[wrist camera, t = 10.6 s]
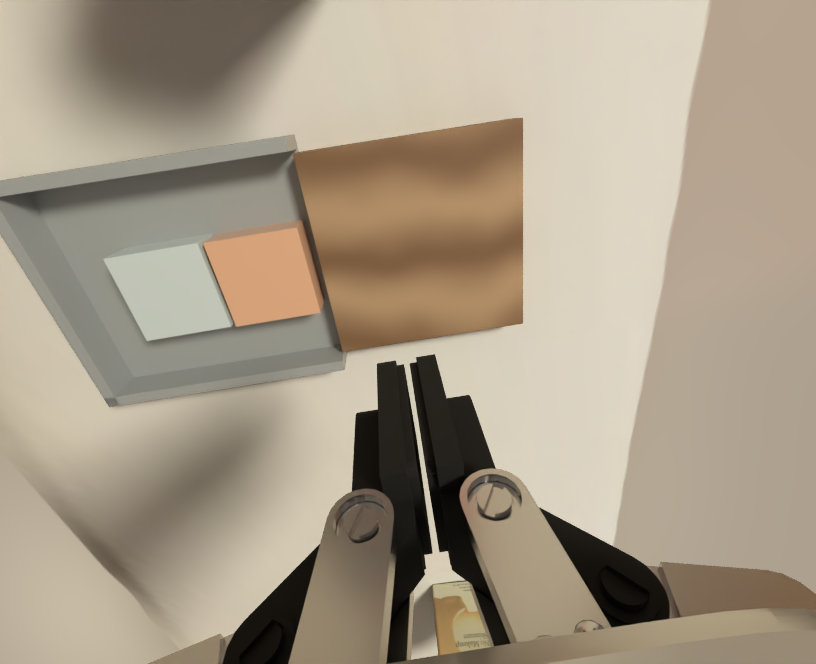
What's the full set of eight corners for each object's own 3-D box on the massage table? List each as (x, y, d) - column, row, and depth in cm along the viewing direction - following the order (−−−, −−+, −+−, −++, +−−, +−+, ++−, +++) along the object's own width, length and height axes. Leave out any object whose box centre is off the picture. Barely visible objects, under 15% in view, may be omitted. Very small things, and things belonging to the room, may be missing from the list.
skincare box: (480, 577, 49) (510, 705, 38) (480, 597, 51) (508, 724, 40) (429, 583, 49) (444, 714, 38) (430, 603, 51) (445, 732, 40)
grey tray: (12, 179, 25) (-31, 185, 22) (294, 134, 25) (284, 136, 22) (131, 384, 32) (109, 407, 30) (347, 349, 32) (344, 369, 30)
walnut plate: (298, 152, 25) (292, 154, 24) (512, 118, 25) (522, 117, 24) (344, 339, 32) (342, 351, 30) (514, 312, 32) (522, 323, 30)
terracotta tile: (216, 233, 27) (202, 243, 25) (303, 219, 27) (296, 227, 25) (246, 311, 30) (236, 326, 28) (324, 298, 30) (320, 312, 28)
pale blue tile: (125, 248, 27) (103, 259, 25) (211, 233, 27) (196, 243, 25) (163, 324, 30) (146, 340, 27) (241, 311, 30) (231, 326, 27)
